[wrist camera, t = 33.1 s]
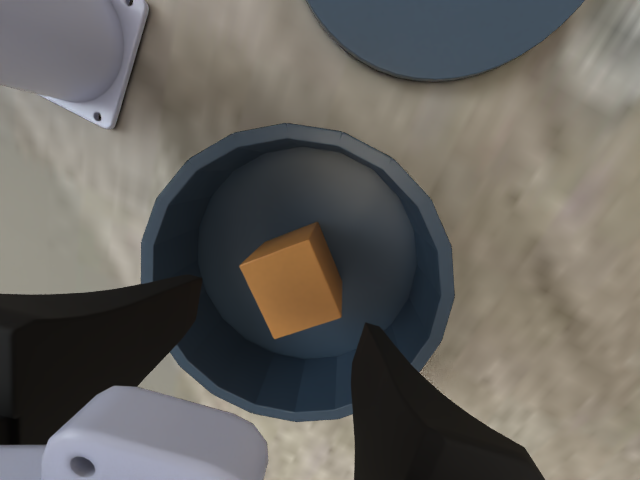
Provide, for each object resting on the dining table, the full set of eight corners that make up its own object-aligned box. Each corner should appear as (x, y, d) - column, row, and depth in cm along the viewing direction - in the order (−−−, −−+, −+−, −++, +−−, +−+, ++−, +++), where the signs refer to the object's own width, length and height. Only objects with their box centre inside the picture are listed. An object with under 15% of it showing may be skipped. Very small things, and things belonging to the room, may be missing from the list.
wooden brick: (290, 300, 21) (273, 340, 16) (263, 241, 20) (238, 265, 15) (342, 282, 20) (342, 318, 16) (317, 221, 20) (308, 238, 15)
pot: (161, 302, 22) (105, 343, 17) (244, 89, 18) (204, 58, 13) (352, 396, 23) (354, 463, 18) (474, 210, 19) (524, 227, 14)
